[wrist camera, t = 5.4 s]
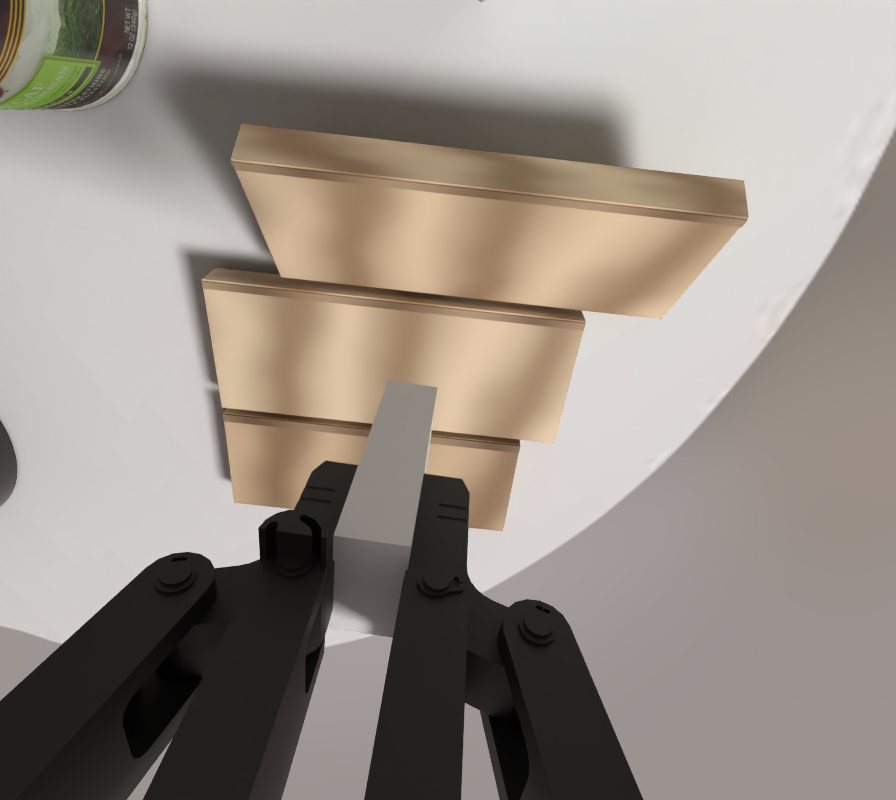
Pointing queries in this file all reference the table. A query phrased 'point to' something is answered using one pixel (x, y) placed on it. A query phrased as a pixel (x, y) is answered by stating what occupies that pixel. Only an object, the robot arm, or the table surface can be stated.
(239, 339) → the plank
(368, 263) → the plank
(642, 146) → the table surface
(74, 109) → the coffee can
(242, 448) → the laid board
